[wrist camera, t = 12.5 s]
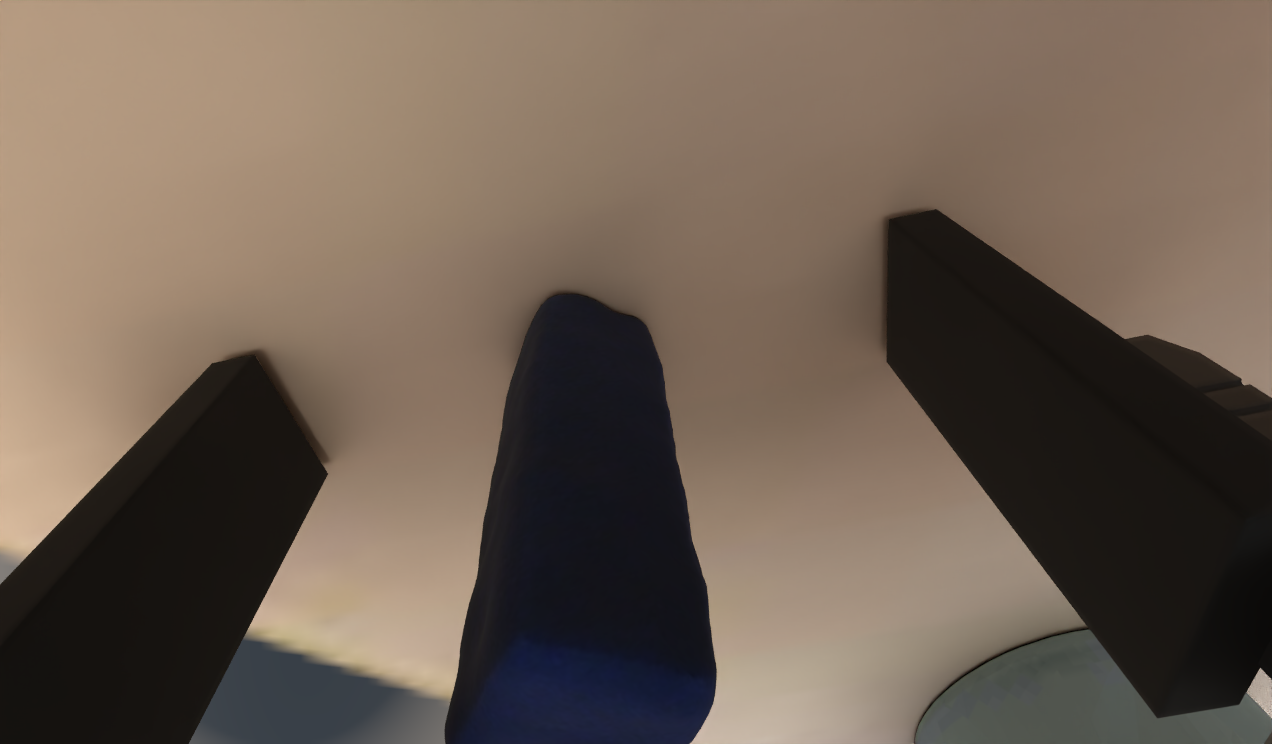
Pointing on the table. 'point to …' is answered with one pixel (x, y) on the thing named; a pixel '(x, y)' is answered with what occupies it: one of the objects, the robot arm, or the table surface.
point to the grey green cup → (1072, 704)
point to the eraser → (585, 552)
